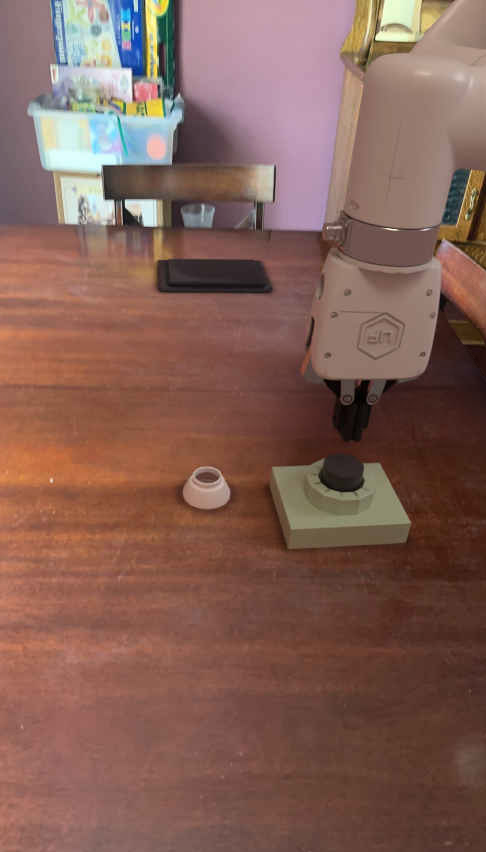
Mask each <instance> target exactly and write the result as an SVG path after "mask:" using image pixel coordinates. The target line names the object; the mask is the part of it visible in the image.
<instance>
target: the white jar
mask: <svg viewBox="0 0 486 852" xmlns="http://www.w3.org/2000/svg"><path fill="white" fill-rule="evenodd" d="M182 497H183V499H184V501H185V502H186V503H187V504H188V505H189V506H191V507H193V508H195V509H200V510H214V509H218V508H220V507H222V506H225V505H226V504H227V503H228V502H229V501H230V498H231V488H230V487H229V485H228V483H227V481H226V479H225V478H224V476H223V475H222V471H220V470H219V469H217V468H215V467H213V466H201V467H198V468H195V470H194V471H193V472H192V475H191V476H190V477H189V478H188V479H187V481H186V482H185V484H184V485H183V489H182Z"/></svg>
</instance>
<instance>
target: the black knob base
mask: <svg viewBox="0 0 486 852" xmlns="http://www.w3.org/2000/svg"><path fill="white" fill-rule="evenodd" d="M325 458H326V457H324V458H322V459H319V460H318V461H315V462H313V463H311V464H310V465H309V464H308V465H287V466H286V465H285V466H284V465H283V466H272V467H271V469H270V479H269V489H270V493H271V496H272V501H273V503H274V506H275V510H276V513H277V516H278V517H277V518H278V521H279V523H280V528H281V530H282V534H283V537H284V541H285V544H286V548H287V550H299V549H316V548H317V549H318V548H333V547H334V548H336V547H337V548H338V547H352V546H372V545H390V544H393V545H394V544H406V542H407V539H408V536H409V533H410V528H411V527H412V522H411V520H410V518H409V516H408V514H407V512H406V510H405V508H404V506H403V505H402V502H401V501H400V499H399V497H398V495H397V493H396V491H395V489H394V488H393V486H392V484H391V482H390V480H389V478H388V476H387V474H386V471H385V470H384V469H383V467H382V465H381V463H380V462H362V463H363V465H364V472H363V477H362V481H361V486H360V488H359V489H358V490H357V491H355V492H342V493H341V492H338V491H334V490H331V489H328V488H327V487H326V486H324V485H323V484H322V482H321V474H322V469H323V463H324V460H325Z"/></svg>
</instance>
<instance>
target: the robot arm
mask: <svg viewBox="0 0 486 852" xmlns="http://www.w3.org/2000/svg"><path fill="white" fill-rule="evenodd" d="M358 109H359V110H358V115H357V120H356V121H357V122H356V127H355V134H354V139H353V146H352V153H351V159H350V165H349V170H348V177H347V184H346V190H345V195H344V196H345V197H344V201H343V202H344V203H343V209H342V210H340V211H339V216H338V218H337V220H332V221H333V222H323V224H322V228H321V238H322V241H324V242H325V241H327V242H329V241H331V243H333V244H334V243H335V245H336V247H331V248H330V249H329V251H328V253H327V255H326V258H325V261H324V264H323V266H322V269H321V272H320V275H319V277H318V280H317V284H316V288H315V291H314V294H313V298H312V303H311V307H310V311H309V316H308V321H307V325H306V331H305V338H304V352H305V357H304V359H303V361H302V364H301V366H300V368H299V373H300V375H301V378H302V379H303V381H304V382H307V383H313V384H316V385H325V386H326V387H327V388H328V389H329V390H330V391H331V392H332V394H334V395H335V401H334V407H333V412H332V418H331V419H332V420H331V424H332V427H333V429H334V430H337V432H338V434H339V436H340V439H341V440H342V442H343V443H349V442H350V441H353V442H356V443H357V442H361V440H362V436H363V432H364V430H366V429H367V428H368V426H369V421H370V416H371V412H372V409H373V405H376V404H377V403H378V402H379V401H380V398H381V397H382V395H383V394H385V393H386V392H388V391H389V390H390V389H391V388H393V387H394V386H395V385H396V384H403V383H406V382H412V381H415V380H417V379H418V378H419V376H421V375H423V374H424V372H425V371H426V370H427V367H428V364H429V360H430V356H431V353H432V348H433V343H434V338H435V332H436V326H437V321H438V316H439V307H440V298H441V287H442V285H441V284H442V262H441V261H440V260H439V259H438V258H436V256H434V254H435V250H436V245H437V241H438V238H439V233H440V230H441V225H442V221H443V217H444V214H445V209H446V206H447V201H448V197H449V194H450V193H449V192H450V189H451V185H452V182H453V177H454V174H455V173H456V172H457V171H458V170H469V171H470V170H471V171H479V172H484V173H485V172H486V0H454V1H453V2H452V3H451V4H450V5H449V6H448V7H447V8H446V10H444V11H443V12H442V14H440V16H439V17H438V18H437V19H436V20H435V21H434V23H432V25H431V26H430V27H429V28H428V29H427V31H425V33H424V34H423V35H422V36H421V37H420V39H418V41H417V42H416V43H415V44H414V46H413V47H412V48H411V50H410V51H409V52H408V53H407V52H396V53H387V54H383V55H381V56H378V57H377V58H376V59H374V60H373V61H372V62H371V64H370V65H369V67H368V69H367V71H366V73H365V76H364V81H363V85H362V90H361V97H360V103H359V108H358ZM356 381H358V383H357V387H356V388H355V386H356V384H355V382H356Z"/></svg>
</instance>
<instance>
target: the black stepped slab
mask: <svg viewBox="0 0 486 852" xmlns="http://www.w3.org/2000/svg"><path fill="white" fill-rule="evenodd" d="M157 288H158V291H159V293H171V294H172V293H175V294H177V293H178V294H181V293H182V294H183V293H184V294H188V293H189V294H192V293H193V294H194V293H195V294H197V293H199V294H201V293H202V294H207V293H208V294H209V293H211V294H213V293H216V294H219V293H220V294H271V292H273V286H272V283H271V281H270V279H269V277H268V274H267V272H266V269H265V267H264V265H263V263H262V261H261V260H255V259H250V258H249V259H247V258H246V259H243V258H242V259H239V258H238V259H237V258H236V259H235V258H234V259H233V258H229V259H228V258H168V259H158V260H157Z"/></svg>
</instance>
